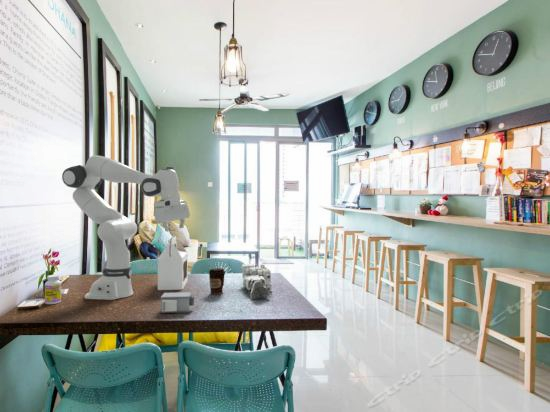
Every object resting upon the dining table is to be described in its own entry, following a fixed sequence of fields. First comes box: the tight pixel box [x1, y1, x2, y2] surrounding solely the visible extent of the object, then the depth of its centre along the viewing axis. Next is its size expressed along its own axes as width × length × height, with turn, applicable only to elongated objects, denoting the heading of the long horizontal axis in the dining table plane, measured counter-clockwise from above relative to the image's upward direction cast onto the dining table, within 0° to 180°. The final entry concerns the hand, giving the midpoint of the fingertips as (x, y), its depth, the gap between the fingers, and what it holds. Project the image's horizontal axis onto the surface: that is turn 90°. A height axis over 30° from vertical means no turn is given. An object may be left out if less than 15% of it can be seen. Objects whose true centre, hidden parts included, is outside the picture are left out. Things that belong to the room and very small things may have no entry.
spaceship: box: [240, 263, 273, 300], centre depth 194 cm, size 16×35×12 cm, turn 12°
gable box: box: [157, 235, 189, 291], centre depth 207 cm, size 22×13×28 cm, turn 6°
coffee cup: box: [208, 267, 226, 295], centre depth 190 cm, size 9×8×13 cm
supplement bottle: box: [44, 274, 62, 305], centre depth 170 cm, size 7×7×13 cm
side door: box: [162, 299, 177, 312], centre depth 155 cm, size 6×2×5 cm, turn 96°
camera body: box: [159, 291, 195, 314], centre depth 160 cm, size 14×8×7 cm, turn 95°
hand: (174, 229), depth 176 cm, fingers open, 8 cm apart
